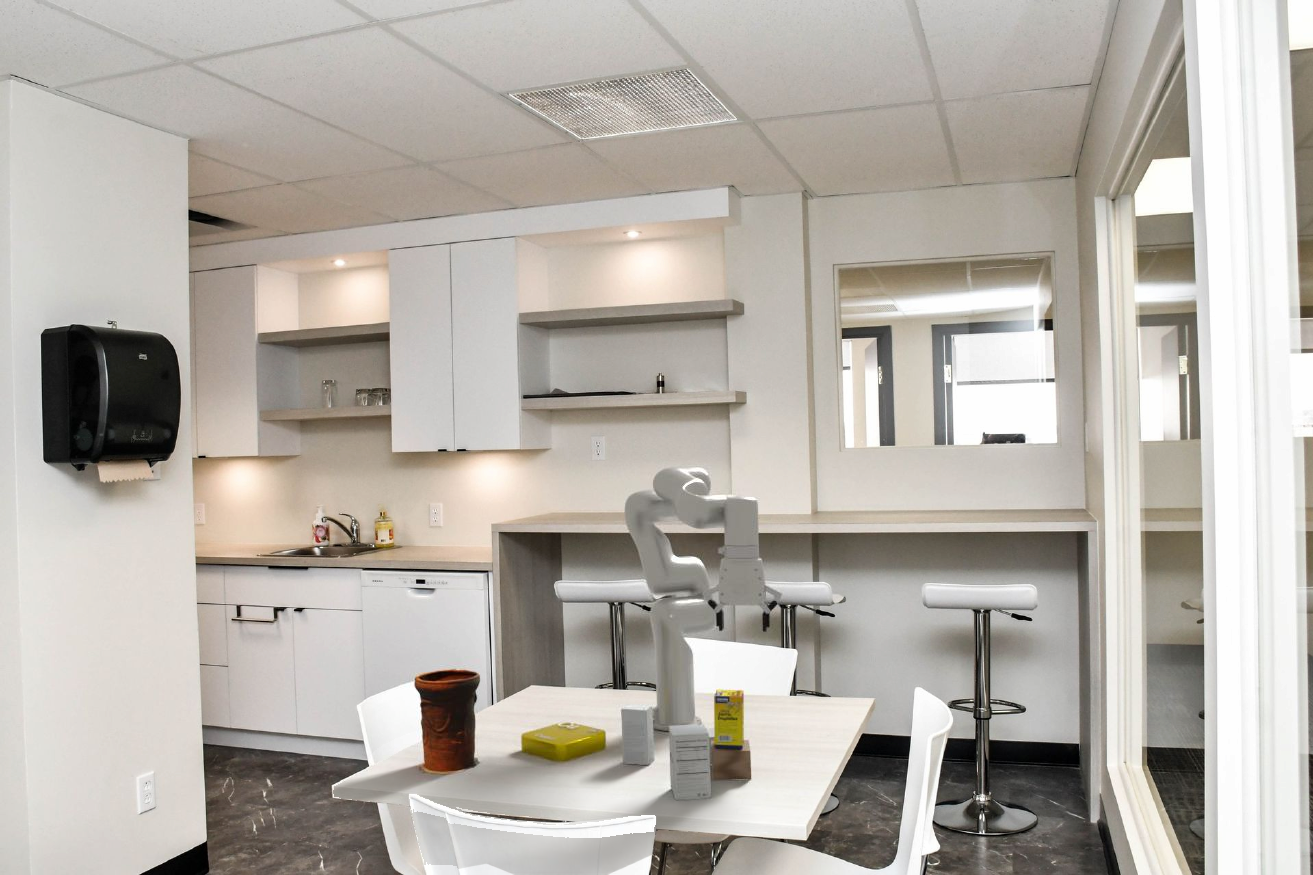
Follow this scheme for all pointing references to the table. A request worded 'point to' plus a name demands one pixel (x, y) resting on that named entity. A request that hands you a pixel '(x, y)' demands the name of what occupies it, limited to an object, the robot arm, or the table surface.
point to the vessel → (448, 719)
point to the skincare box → (637, 734)
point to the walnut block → (731, 762)
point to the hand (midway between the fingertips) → (743, 630)
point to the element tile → (563, 741)
